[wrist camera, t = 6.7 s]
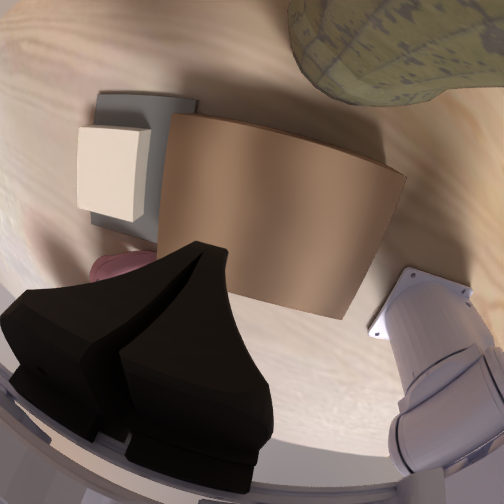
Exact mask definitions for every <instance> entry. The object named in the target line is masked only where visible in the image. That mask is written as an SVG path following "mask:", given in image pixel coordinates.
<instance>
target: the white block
mask: <svg viewBox="0 0 504 504" xmlns="http://www.w3.org/2000/svg"><path fill="white" fill-rule="evenodd" d="M150 137H151V129H142V128H132V127H121V126H107V125H88V126H83V127H79V135H78V153H77V200H78V208H81V209H84V210H88V211H92V212H96V213H99V214H103V215H107V216H111V217H114V218H118V219H122V220H126V221H130V222H134V221H135V220H136V219H138V218H139V217H140V216H142V215H143V214H144V197H145V184H146V172H147V162H148V153H149V145H150Z"/></svg>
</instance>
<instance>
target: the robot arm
mask: <svg viewBox="0 0 504 504" xmlns="http://www.w3.org/2000/svg"><path fill="white" fill-rule="evenodd" d="M228 254H229V252H228V250H227V249H226V248H222V247H218V246H214V245H211V244H207V243H203V242H200V241H194V242H192V243H190V244H188V245H186V246H184V247H182V248H180V249H178V250H176V251H174V252H172V253H170V254H169V255H167V256H165V257H163V258H161V259H158V260H156V261H154V262H152V263H149V264H147V265H145V266H143V267H140V268H138V269H135V270H133V271H130V272H127V273H124V274H121V275H118V276H115V277H112V278H108V279H104V280H100V281H96V282H92V283H87V284H82V285H76V286H69V287H62V288H51V289H35V290H26V291H25V292H24V293H23V294H22V295H21V296H20V297H18V298H17V299H16V301H14V302H13V303H12V304H11V305H10V306H9V308H8V309H6V310H5V311H4V313H2V314H1V316H0V326H1V329H2V332H3V334H4V336H5V338H6V340H7V342H8V344H9V346H10V347H11V349H12V351H13V353H14V355H15V356H16V358H17V359H18V361H19V363H20V366H19V367H18V368H17V369H16V371H15V372H14V374H13V373H11V372H10V371H9V370H8V369H7V368H6V367H5V366H3V365H2V364H1V363H0V504H163V503H161V502H158V501H155V500H152V499H150V498H147V497H144V496H142V495H139V494H137V493H135V492H132V491H130V490H128V489H125V488H123V487H121V486H119V485H117V484H115V483H112V482H111V481H109V480H107V479H105V478H103V477H101V476H99V475H97V474H95V473H93V472H92V471H90V470H88V469H86V468H85V467H83V466H81V465H79V464H78V463H76V462H74V461H73V460H71V459H70V458H68V457H66V456H65V455H63V454H62V453H60V452H59V451H57V450H56V449H54V448H53V447H51V446H50V445H49V444H50V443H51V441H52V440H51V438H50V437H49V436H48V435H47V434H46V433H45V432H43V431H42V430H41V429H40V428H39V427H38V426H37V425H36V424H35V423H34V422H33V421H32V420H31V419H30V418H29V417H28V416H27V415H26V413H25V412H24V411H23V410H22V409H21V408H20V407H18V406H17V405H16V404H15V401H16V402H18V403H19V404H20V405H21V406H22V407H24V408H25V409H26V410H27V411H29V412H30V413H31V414H32V415H34V416H35V417H36V418H38V419H39V420H41V421H42V422H43V423H44V424H46V425H47V426H49V427H50V428H52V429H53V430H55V431H56V432H58V433H59V434H61V435H62V436H64V437H65V438H67V439H68V440H70V441H72V442H73V443H75V444H77V445H78V446H80V447H82V448H83V449H85V450H87V451H89V452H91V453H93V454H94V455H96V456H98V457H100V458H102V459H104V460H106V461H108V462H110V463H112V464H114V465H116V466H119V467H121V468H123V469H125V470H127V471H130V472H132V473H134V474H137V475H139V476H142V477H144V478H147V479H150V480H152V481H155V482H158V483H161V484H163V485H166V486H169V487H173V488H176V489H179V490H182V491H186V492H190V493H193V494H197V495H201V496H205V497H209V498H214V499H218V500H224V501H229V502H235V503H227V502H219V501H212V500H205V499H201V500H199V502H198V504H236V503H240V504H504V432H503V431H504V352H503V351H502V349H501V348H500V347H495V344H494V339H493V336H492V334H491V332H490V330H489V329H488V327H487V326H486V324H485V322H484V321H483V319H482V318H481V316H480V315H479V313H478V312H477V310H476V309H475V307H474V306H473V304H472V303H471V301H470V300H469V298H470V296H471V295H472V293H473V290H472V288H471V287H468V286H465V285H462V284H459V283H456V282H453V281H451V280H448V279H445V278H442V277H439V276H436V275H433V274H430V273H426V272H423V271H420V270H417V269H414V268H411V267H407V268H405V269H404V270H403V272H402V274H401V275H400V277H399V279H398V281H397V283H396V285H395V286H394V288H393V290H392V292H391V294H390V295H389V297H388V299H387V300H386V302H385V304H384V306H383V307H382V309H381V310H380V312H379V314H378V315H377V317H376V319H375V320H374V322H373V323H372V325H371V326H370V328H369V330H368V335H369V336H370V337H376V338H381V339H387V340H390V343H391V346H392V350H393V353H394V357H395V360H396V364H397V367H398V371H399V375H400V378H401V382H402V386H403V390H404V394H405V397H404V398H403V399H401V400H400V401H399V402H398V405H399V410H400V414H398V415H397V416H396V417H395V418H394V419H393V421H392V423H391V425H390V430H389V436H388V447H389V453H390V456H391V459H392V462H393V464H394V465H395V467H396V469H397V470H398V471H399V472H400V473H401V474H402V475H403V476H404V477H403V478H401V479H400V480H398V481H397V482H391V483H383V484H374V485H363V486H348V487H303V486H288V485H277V484H268V483H260V482H253V481H252V476H253V470H254V466H256V464H257V461H258V455H259V450H260V449H261V448H262V447H263V446H264V444H266V442H267V441H268V440H269V439H270V438H271V436H272V433H273V428H274V417H273V406H272V399H271V394H270V389H269V384H268V383H267V381H266V380H265V379H264V377H263V376H262V374H261V373H260V371H259V369H258V368H257V366H256V365H255V363H254V361H253V360H252V358H251V356H250V354H249V352H248V350H247V349H246V346H245V344H244V342H243V340H242V337H241V335H240V333H239V331H238V328H237V326H236V323H235V320H234V317H233V314H232V310H231V307H230V303H229V298H228V293H227V286H226V274H225V269H226V264H227V259H228ZM412 273H414V274H413V275H412V276H411V274H412ZM462 290H463V291H462ZM377 332H378V333H377ZM14 400H15V401H14ZM502 432H503V433H502ZM500 433H501V434H500ZM499 434H500V435H499ZM497 435H499V436H497ZM496 436H497V437H496ZM495 437H496V438H495ZM493 438H494V439H493ZM492 439H493V440H492ZM490 440H491V441H490ZM489 441H490V442H489ZM487 442H488V443H487ZM486 443H487V444H486ZM484 444H485V445H484ZM482 445H484V446H482ZM481 446H482V447H481ZM479 447H480V448H479ZM478 448H479V449H478ZM476 449H477V450H476ZM474 450H476V451H474ZM473 451H474V452H473ZM471 452H472V453H471ZM469 453H470V454H469ZM468 454H469V455H468ZM465 455H467V456H465ZM464 456H465V457H464ZM462 457H464V458H462ZM461 458H462V459H461ZM459 459H460V460H459ZM457 460H458V461H457ZM455 461H456V462H455Z"/></svg>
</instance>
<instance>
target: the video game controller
mask: <svg viewBox="0 0 504 504" xmlns="http://www.w3.org/2000/svg"><path fill="white" fill-rule="evenodd" d="M156 260H157V253H156V252H152V251H132V252H127V253H123V254H119V255H115V256H112V255H105V256H102V257H100V258H99V259H97V260H96V261H95V263H94V264H93V266H92V268H91V271H90V276H89V277H90V282H91V283H92V282H96V281H100V280H104V279H108V278H112V277H115V276H118V275H121V274H124V273H127V272H130V271H133V270H135V269H138V268H140V267H143V266H145V265H147V264H149V263H152V262H154V261H156Z"/></svg>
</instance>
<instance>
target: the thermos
mask: <svg viewBox="0 0 504 504" xmlns="http://www.w3.org/2000/svg"><path fill="white" fill-rule="evenodd" d="M288 24H289V34H290V42H291V48H292V50H293V55H294V58H295V60H296V62H297V64H298V66H299V68H300V70H301V72H302V74H303V75H304V76H305V77H306V78H307V79H308V80H309V81H310V82H311V84H312V85H313V86H314V87H315V88H317V89H318V90H320V91H321V92H323V93H324V94H326V95H327V96H329V97H330V98H332V99H335V100H338V101H341V102H344V103H347V104H349V105H360V106H374V107H390V106H406V105H411V104H416V103H421V102H426V101H430V100H432V99H433V98H435V97H436V96H438V95H439V94H441V93H442V92H443V91H445V90H446V89H457V88H477V87H504V0H291V1H290V4H289V8H288Z"/></svg>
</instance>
